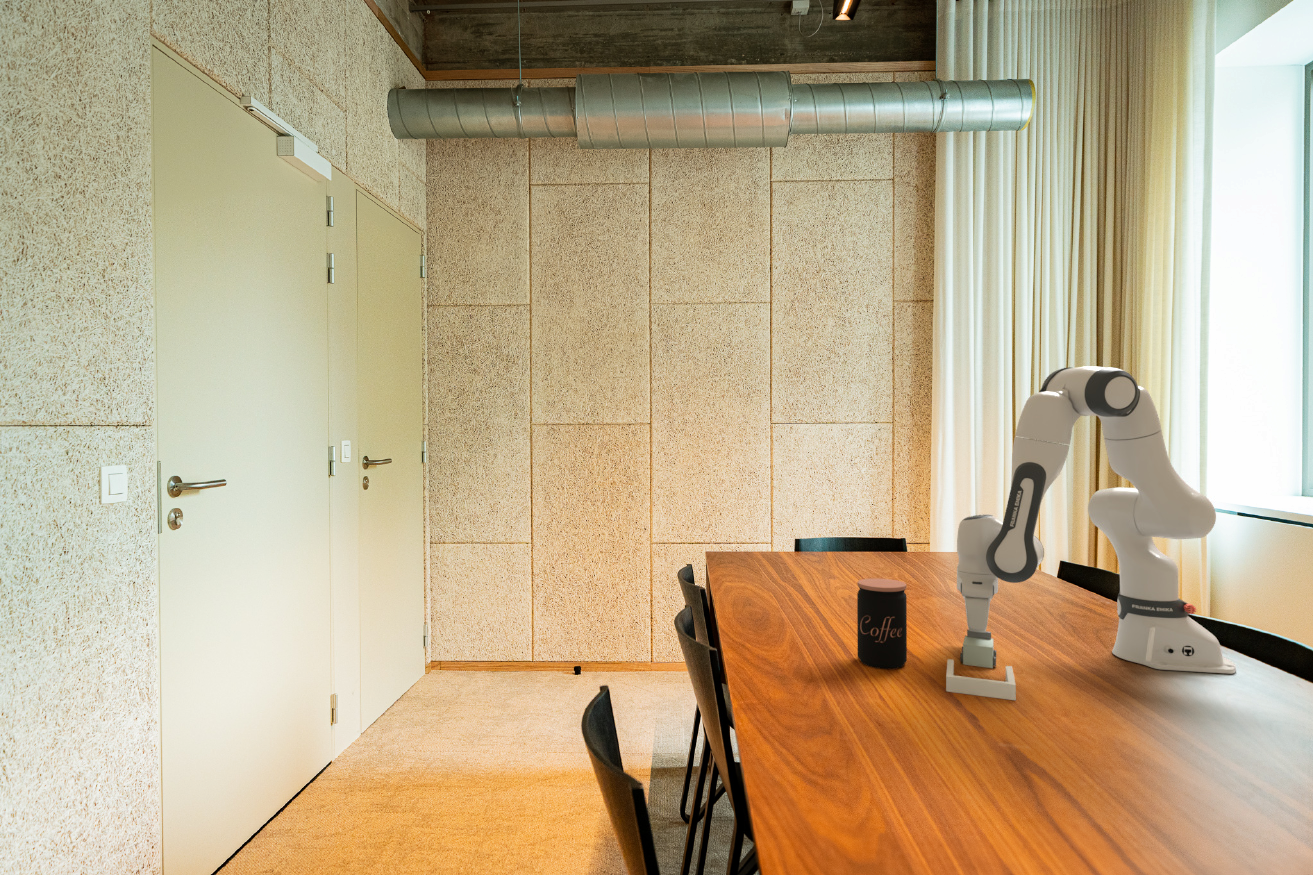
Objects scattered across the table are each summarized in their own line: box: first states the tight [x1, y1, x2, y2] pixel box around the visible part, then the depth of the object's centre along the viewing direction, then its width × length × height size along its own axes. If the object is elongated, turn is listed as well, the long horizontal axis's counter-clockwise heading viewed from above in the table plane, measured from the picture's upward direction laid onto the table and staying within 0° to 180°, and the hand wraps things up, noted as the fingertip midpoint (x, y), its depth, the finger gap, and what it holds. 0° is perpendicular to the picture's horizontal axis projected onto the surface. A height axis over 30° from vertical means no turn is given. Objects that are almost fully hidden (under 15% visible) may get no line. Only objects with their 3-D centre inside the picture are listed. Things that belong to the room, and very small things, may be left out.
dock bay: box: [945, 658, 1017, 701], centre depth 144 cm, size 12×12×3 cm
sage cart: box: [959, 629, 997, 669], centre depth 160 cm, size 7×8×6 cm
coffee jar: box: [856, 578, 908, 670], centre depth 159 cm, size 11×11×18 cm
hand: (977, 642), depth 166 cm, fingers closed
